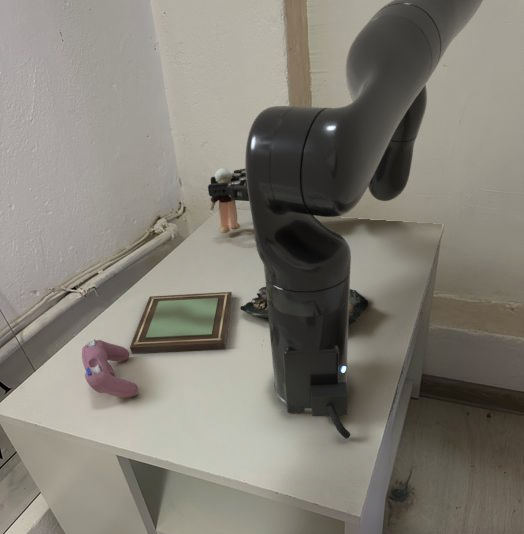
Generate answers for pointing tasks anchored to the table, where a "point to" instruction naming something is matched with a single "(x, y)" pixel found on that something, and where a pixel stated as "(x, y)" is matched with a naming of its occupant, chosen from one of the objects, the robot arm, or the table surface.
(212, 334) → the board
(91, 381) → the video game controller
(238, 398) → the table surface
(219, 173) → the grandmother figurine
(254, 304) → the decorative rock
